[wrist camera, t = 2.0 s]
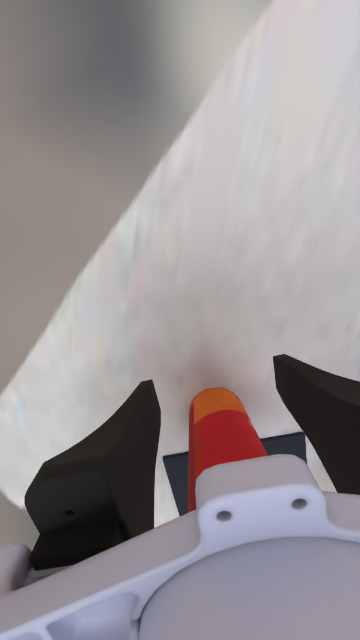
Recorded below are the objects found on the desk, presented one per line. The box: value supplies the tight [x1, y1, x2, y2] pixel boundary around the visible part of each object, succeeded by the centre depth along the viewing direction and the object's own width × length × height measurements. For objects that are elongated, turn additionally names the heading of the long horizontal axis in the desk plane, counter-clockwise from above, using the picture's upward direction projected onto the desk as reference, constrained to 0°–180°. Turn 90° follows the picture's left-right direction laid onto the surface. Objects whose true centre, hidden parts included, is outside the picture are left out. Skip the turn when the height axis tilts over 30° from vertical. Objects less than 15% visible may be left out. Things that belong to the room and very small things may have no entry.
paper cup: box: [188, 388, 268, 513], centre depth 20 cm, size 8×8×14 cm
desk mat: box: [163, 432, 307, 516], centre depth 31 cm, size 16×20×1 cm
